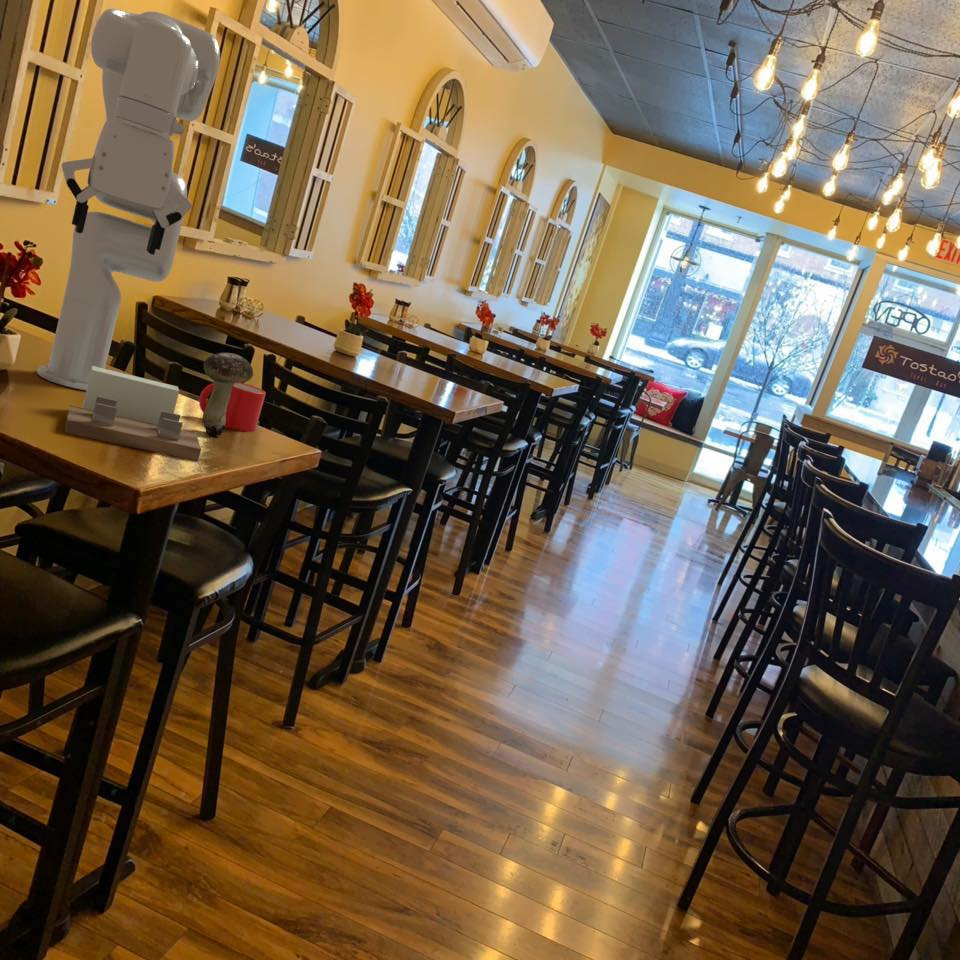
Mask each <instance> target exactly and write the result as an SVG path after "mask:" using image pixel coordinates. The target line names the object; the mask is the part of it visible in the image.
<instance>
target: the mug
mask: <svg viewBox="0 0 960 960" xmlns="http://www.w3.org/2000/svg"><path fill="white" fill-rule="evenodd" d="M213 388H214V383H213V382H212V383H210V384H208V385H207V386H206V387H204V388H203V390H202V391H201V393H200V395H199V398H198V404H199V408H200V410H201V412H202V414H203V413H204V411H205V408H206V406H207V403H208V397H210V396H209V395H211V394H212V391H213ZM265 397H266V391H265V390H263V389H262V388H260V387H256V386H254V385H251V384H247V383H245V382H240V383H235V384H234V386H233V387H232V391H231V394H230V398H229V401H228V405H227V408H226V413H225V416H226V424H225V425H224V427H226V426H227V427H226V428H228V427H230V428H229V429H231V428H234V429H233V430H235V429H238V430H237V431H239V430H241V431H240V432H247V433H255V432H256V430H257V427H258V424H259V418H260V416H261V411H262V408H263V405H264V402H265Z"/></svg>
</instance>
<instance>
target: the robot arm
mask: <svg viewBox="0 0 960 960" xmlns="http://www.w3.org/2000/svg"><path fill="white" fill-rule="evenodd" d="M90 43H91V44H90V51H91V57H92V60H93V62H94V64H95V65H96V66H97V67H98V68H100V69H102V72H101V73H102V76H101V77H102V79H101V81H102V83H101V85H102V95H103V101H104V106H105V107H104V108H105V109H104V110H105V115H106V116H105V118H106V120H105V122H104V124H103V126H102V129H101V131H100V134H99V137H98V140H97V143H96V147H95V149H94V154H93V156H92V157H90V158H83V159H78V160H76V159H75V160H70V161H64V162H62V163H61V169H62V172H63V177H64V180H65V184H66V186H67V187H68V190H69V191H70V192H71V194H72V195H73V197H74V199H75V200H76V203H75V207H74V212H73V216H72V221H71V225H73V226H74V227H73V234H72V247H71V258H70V266H69V267H70V268H69V272H68V277H67V282H66V287H65V291H64V295H63V300H62V304H61V309H60V313H59V318H58V321H57V325H56V326H57V327H56V331H55V335H54V339H53V343H52V348H51V352H50V357H49V361H48V364H46V365H40V366H38V368H37V372H36V373H37V375H39V377H41V378H43V379H44V380H47V381H49V382H52V383H54V384H58V385H60V386H64V387H67V388H72V389H76V390H81V391H86V390H87V386H88V382H89V377H90V373H91V369H92V366H95V367H99V368H103V369H106V365H107V361H108V357H109V353H110V349H111V344H112V340H113V336H114V332H115V329H116V328H115V327H116V324H117V318H118V315H119V312H120V307H121V303H122V294H121V290H120V288H119V286H118V284H117V281H116V280H115V279H114V277H113V275H112V273H113V272H116V273H121V274H124V275H128V276H131V277H134V278H137V279H138V278H139V279H141V280H146V281H151V282H155V283H156V282H158V283H159V282H160V283H161V282H163V281H165V280H166V279H167V278H168V276H169V275H170V273H171V270H172V267H173V263H174V259H175V256H176V251H177V247H178V242H179V237H180V234H181V229H182V224H183V220H184V217H185V216H186V214H187V213H188V212H189V211H190V210H191V208H193V205H192V203H191V202H190V201H189V200H188V187H187V184H186V181H185V179H184V178H183V177H182V176H181V175H179V174H177V173H176V172H174V171H173V165H174V158H175V156H174V155H175V141H174V140H171V137H172V136H173V135H174V134H175V135H181V136H183V134H184V130H185V125H183V124H181V123H180V122H178V120H177V119H179V120H182V121H187V122H194V121H196V120H198V119H199V118H200V117H201V116H202V114H203V112H204V110H205V107H206V105H207V103H208V99H209V96H210V94H211V92H212V89H213V86H214V84H215V81H216V79H217V75H218V71H219V68H220V62H221V51H220V45H219V43H218V40H217V39H216V37H215V36H214V35H213V34H211V32H208V31H206V30H204V29H202V28H199V27H197V26H194V25H191V24H189V23H187V22H184V21H182V20H179V19H176V18H174V17H172V16H170V15H168V14H165V13H162V12H158V11H146V12H142V13H140V14H139V13H133V12H129V11H124V10H121V9H120V10H119V9H115V8H108V9H106V10H104V11H103V12H102V13H101V15H100V16H99V18H98V20H97V22H96V24H95V26H94V29H93V32H92V36H91V42H90ZM88 169H89V171H88V176H87V186H86V187H85V188H83V189H81V187H80V186H79V184H78V182H77V181H76V177H75V172H76V171H81V170H88ZM93 197H96V199H97V200H98V201H99V202H100V203H101V204H104V205H106V206H108V207H111V208H113V209H116V210H120V211H121V212H126V213H129V214H132V215H134V216H138V217H141V218H145V219H148V220H150V221H151V222H152V226H148V225H145V224H141V223H138V222H134V221H133V220H129V219H126V218H122V217H119V216H116V215H113V214H110V213H105V212H102V211H89V205H88V202H89V200H90V199H92V198H93Z"/></svg>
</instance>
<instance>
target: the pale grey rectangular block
mask: <svg viewBox="0 0 960 960" xmlns="http://www.w3.org/2000/svg"><path fill="white" fill-rule="evenodd" d="M179 393H180V389H179V386H177V385H172V384H168V383H164V382H161V381H156V380H152V379H148V378H144V377H140V376H135V375H133V374H132V375H131V374H129V373H128V374H127V373H124V372H119V371H115V370H110V369H106V368H105V369H103V368H99V367H95V366H92V369H91V373H90V377H89V382H88V386H87V390H85V395H84V399H83V403H82V407H81V408H84V409H89V410H93V411H94V407H95V403H96V398H97V396H101V397H105V398H109V399H114V400H117V403H116V407H117V411H116V416H120V417H124V418H129V419H133V420H138V421H142V422H147V423H151V424H156V425H158V423H159V419H160V415H161V411H166V412H170V413H174V412H175V409H176V405H177V402H178V401H177V400H178V398H179ZM174 414H175V413H174Z"/></svg>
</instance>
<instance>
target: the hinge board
mask: <svg viewBox="0 0 960 960" xmlns="http://www.w3.org/2000/svg"><path fill="white" fill-rule="evenodd" d="M116 403H117V400H114V399H109V398H105V397H101V396H97V398H96V403H95V407H94V411H93V410H89V409H84V408H82V407H81V406H80V407H79V406H75V405H69V408H68V412H67V416H66V417H67V418H66V422H65V426H64V427H65V429H64V433H65V434H69V435H74V436H78V437H79V436H80V437H82V438H83V437H84V438H89V439H94V440H97V441H102V442H107V443H112V444H116V445H121V446H126V447H130V448H135V449H140V450H145V451H149V452H150V451H151V452H154V453H160V454H163V455H169V456H173V457H176V458H177V457H178V458H183V459H187V460H192V461H197V462H198V461H199V459H200V455H201V452H202V451H201V450H202V447H201V443H200V441H199V439H198V436H197V433H195V432H192V431H186V430H182V428H183V422H182V421H180V418H181V414H178V413H170V412H166V411H161V415H160V419H159V423H158V425H156V424H151V423H147V422H142V421H138V420H133V419H129V418H124V417H120V416H116V411H117V407H116Z"/></svg>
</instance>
